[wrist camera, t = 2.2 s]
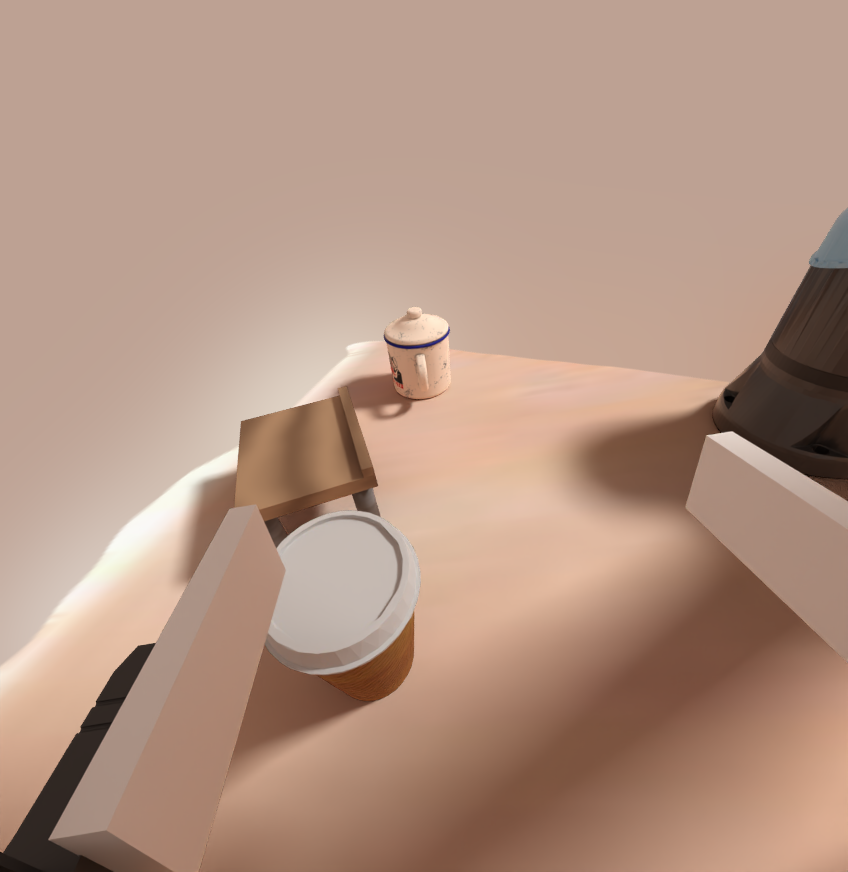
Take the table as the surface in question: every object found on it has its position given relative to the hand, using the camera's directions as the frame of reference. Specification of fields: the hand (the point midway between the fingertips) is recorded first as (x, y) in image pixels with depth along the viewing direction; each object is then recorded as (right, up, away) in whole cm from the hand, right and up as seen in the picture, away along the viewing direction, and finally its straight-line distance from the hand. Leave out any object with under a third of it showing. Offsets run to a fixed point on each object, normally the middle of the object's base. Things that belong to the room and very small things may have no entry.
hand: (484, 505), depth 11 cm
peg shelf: (-13, -5, +31) cm, 34 cm away
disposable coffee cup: (-6, -15, +18) cm, 24 cm away
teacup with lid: (-2, +9, +45) cm, 46 cm away
